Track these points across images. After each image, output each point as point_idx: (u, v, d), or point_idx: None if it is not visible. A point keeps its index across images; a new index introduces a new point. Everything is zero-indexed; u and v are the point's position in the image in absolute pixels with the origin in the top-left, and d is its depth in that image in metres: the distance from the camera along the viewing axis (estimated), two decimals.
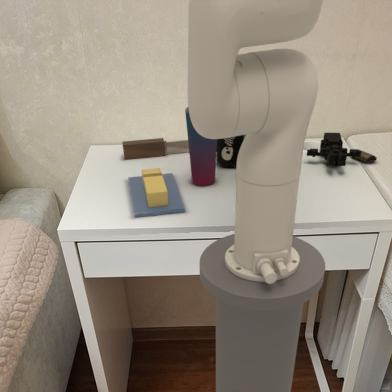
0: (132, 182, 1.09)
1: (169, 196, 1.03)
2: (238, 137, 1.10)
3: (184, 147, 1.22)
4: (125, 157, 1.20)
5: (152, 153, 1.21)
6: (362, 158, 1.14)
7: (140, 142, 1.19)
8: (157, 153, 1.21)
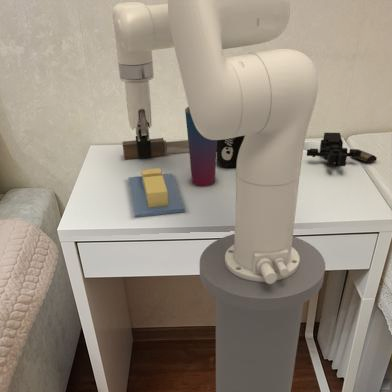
0: (132, 182, 1.09)
1: (169, 196, 1.03)
2: (238, 137, 1.10)
3: (184, 147, 1.22)
4: (125, 157, 1.20)
5: (152, 153, 1.21)
6: (362, 158, 1.14)
7: None
8: (157, 153, 1.21)
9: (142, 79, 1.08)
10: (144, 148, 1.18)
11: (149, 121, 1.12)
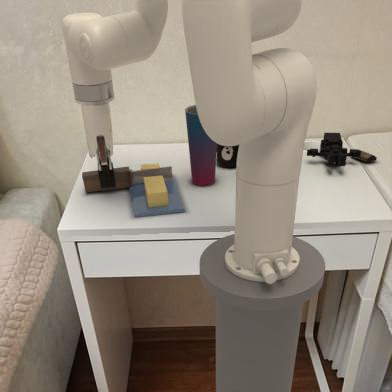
0: None
1: (169, 196, 1.03)
2: None
3: None
4: (86, 190, 1.06)
5: (116, 184, 1.06)
6: (362, 158, 1.14)
7: None
8: (123, 184, 1.06)
9: (100, 101, 0.93)
10: (106, 178, 1.04)
11: (110, 148, 0.97)
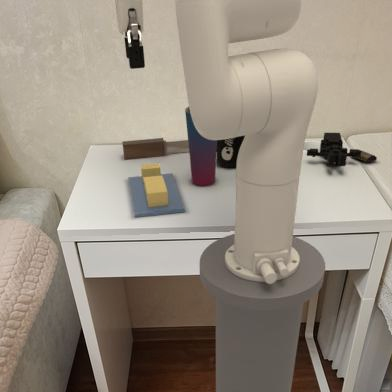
0: (132, 182, 1.09)
1: (169, 196, 1.03)
2: (238, 137, 1.10)
3: (184, 147, 1.22)
4: (125, 157, 1.20)
5: (152, 153, 1.21)
6: (362, 158, 1.14)
7: (140, 142, 1.19)
8: (157, 153, 1.21)
9: None
10: (136, 56, 1.03)
11: (141, 23, 1.00)
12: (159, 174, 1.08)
